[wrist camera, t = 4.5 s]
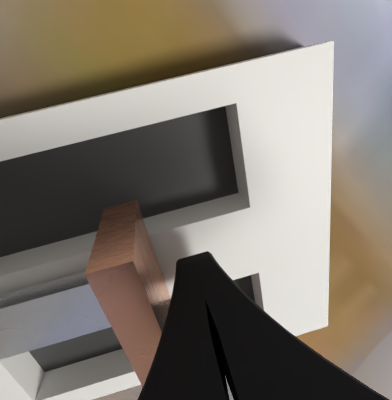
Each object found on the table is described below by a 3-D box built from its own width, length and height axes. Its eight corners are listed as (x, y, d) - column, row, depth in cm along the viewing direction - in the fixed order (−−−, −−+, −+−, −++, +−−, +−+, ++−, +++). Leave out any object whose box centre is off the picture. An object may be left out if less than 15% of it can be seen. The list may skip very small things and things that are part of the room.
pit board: (310, 302, 14) (327, 325, 13) (-7, 398, 13) (-24, 435, 12) (304, 46, 9) (333, 40, 8) (-231, 172, 8) (-309, 193, 6)
